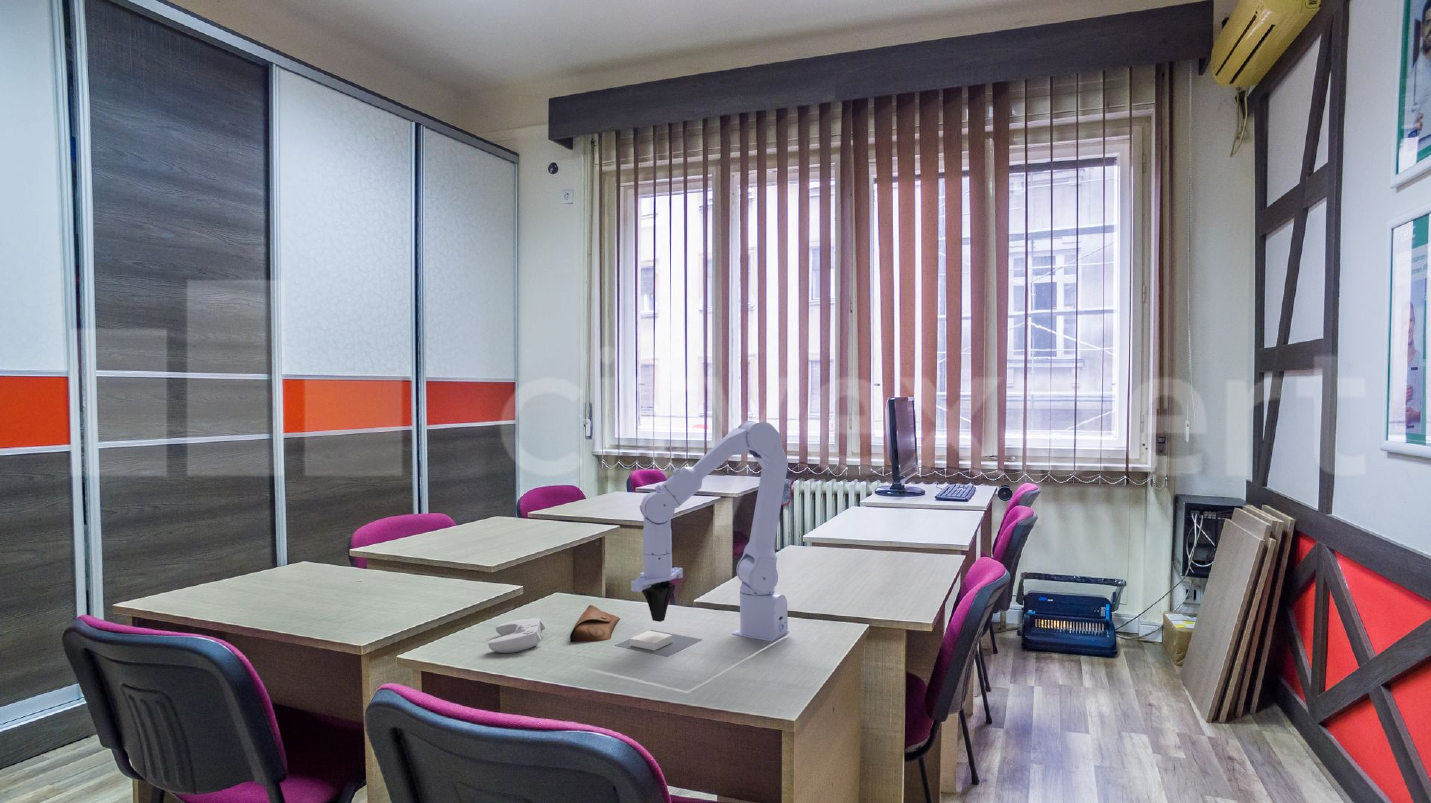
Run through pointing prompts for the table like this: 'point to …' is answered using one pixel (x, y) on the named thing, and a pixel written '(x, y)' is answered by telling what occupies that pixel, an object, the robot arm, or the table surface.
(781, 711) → the table surface
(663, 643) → the tile
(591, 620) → the sunglasses case
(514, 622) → the game controller
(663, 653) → the mat
